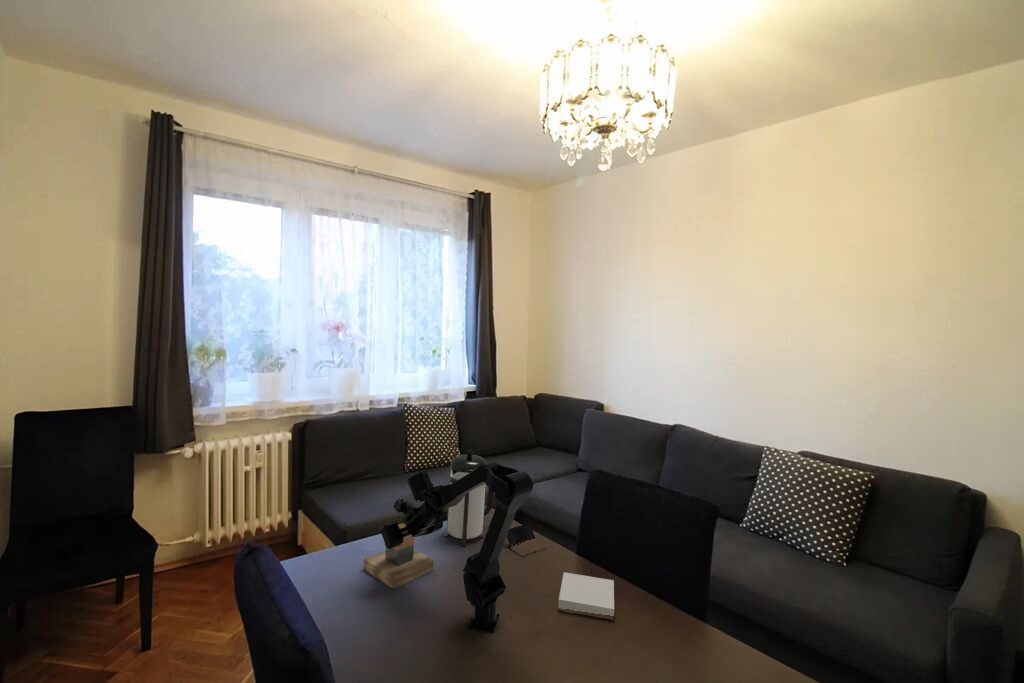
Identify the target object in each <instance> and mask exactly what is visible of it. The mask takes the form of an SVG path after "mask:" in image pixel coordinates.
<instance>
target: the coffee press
mask: <svg viewBox="0 0 1024 683" xmlns="http://www.w3.org/2000/svg"><path fill="white" fill-rule="evenodd" d="M465 453H466V454H460V455H458V456H455V457H454V458H453V459H452V460H451V461H450V464H449V468H450V475H449V484H452V483H454V482H455V481H457V480H459V479H460V478H462V477H464V476H465V475H467V474H469V473H470V472H472V471H474V470H475V469H477V468H478V467H479V466H480V465H482V464H485V463H487V461H486V459H485V458H483V457H482V456H479V455H477V454H476V455H475V454H474V451H473V450H472V449H470V448H469V449H467V450H466V452H465ZM449 484H448V485H449ZM486 486H487V484H486V483H484V484H482V485H481V486H479V487H477V488H475V489H474V490H472V491H470V492H469V493H467V494H466V495H465V496H464V497H463V499H462V500H461V501H460V502H459V503H458V504H457V505H455V506H452V507H449V508H447V510H448V511H447V516H448V520H447V521H446V528H445V529H444V530H443V532H442V536H443V537H444V534H445V533H446V531H447V535H446V534H445V535H446V537H448V536H449V535H450V536H452V537H454V538H457V539H460V540H461V546H462V545H465V546H464V547H466V546H467V540H470V539H475V538H478V537H479V536H480V537H482V535H483V534H482V533H483V532H484V534H485V535H486V533H487V531H486V529H484V528H485V516H487V515H488V514H489V513H490V512H491V510H492V507H493V505H494V504H493V503H494V494H495V493H494V492H492V491H491V490H490V489H489V488H487V487H486ZM487 489H488V490H487ZM486 491H488V492H486ZM486 493H487V503H486ZM485 503H486V504H487V505H486V504H485Z"/></svg>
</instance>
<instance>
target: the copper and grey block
mask: <svg viewBox="0 0 1024 683" xmlns="http://www.w3.org/2000/svg"><path fill="white" fill-rule="evenodd" d="M405 524H406V523H404V522H402V523H400V524H399V523H398V526H399V528H400V529H401V528H404V527H406V525H405ZM405 533H406V532H405ZM402 534H403V533H402ZM414 548H415V537H412V535H409V536H406V537H403V543H402V544H400V546H397V547H395V548H392V549H388V548H386V547H385V551H386V555H385V559H386V560H387V561H389V562H391V563H392V564H394V565H396V566H399V565H402V564H404V563H406V562H409V561H411V560H413V552H414Z"/></svg>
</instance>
